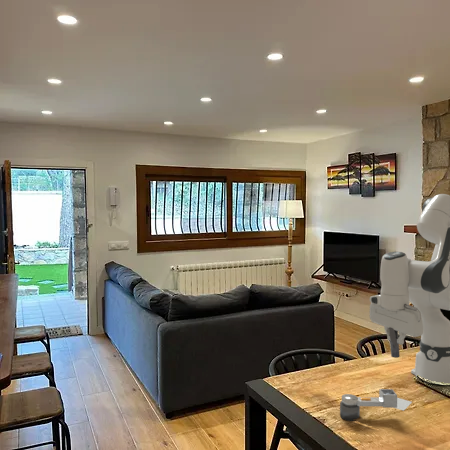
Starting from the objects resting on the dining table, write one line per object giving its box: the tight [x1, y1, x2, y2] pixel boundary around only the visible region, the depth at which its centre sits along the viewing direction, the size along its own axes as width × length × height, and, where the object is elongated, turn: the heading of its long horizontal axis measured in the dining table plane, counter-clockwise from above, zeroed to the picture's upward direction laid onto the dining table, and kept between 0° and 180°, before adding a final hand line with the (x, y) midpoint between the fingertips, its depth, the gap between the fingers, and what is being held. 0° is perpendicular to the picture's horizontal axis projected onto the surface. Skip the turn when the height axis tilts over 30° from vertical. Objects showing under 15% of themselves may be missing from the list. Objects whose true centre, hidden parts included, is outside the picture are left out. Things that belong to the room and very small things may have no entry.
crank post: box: [339, 400, 361, 422], centre depth 132 cm, size 6×6×4 cm
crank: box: [341, 388, 398, 409], centre depth 132 cm, size 17×5×4 cm, turn 86°
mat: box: [395, 397, 413, 412], centre depth 140 cm, size 8×8×1 cm
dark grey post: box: [389, 327, 400, 359], centre depth 138 cm, size 3×3×10 cm
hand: (395, 342), depth 138 cm, fingers closed on dark grey post, 3 cm apart
